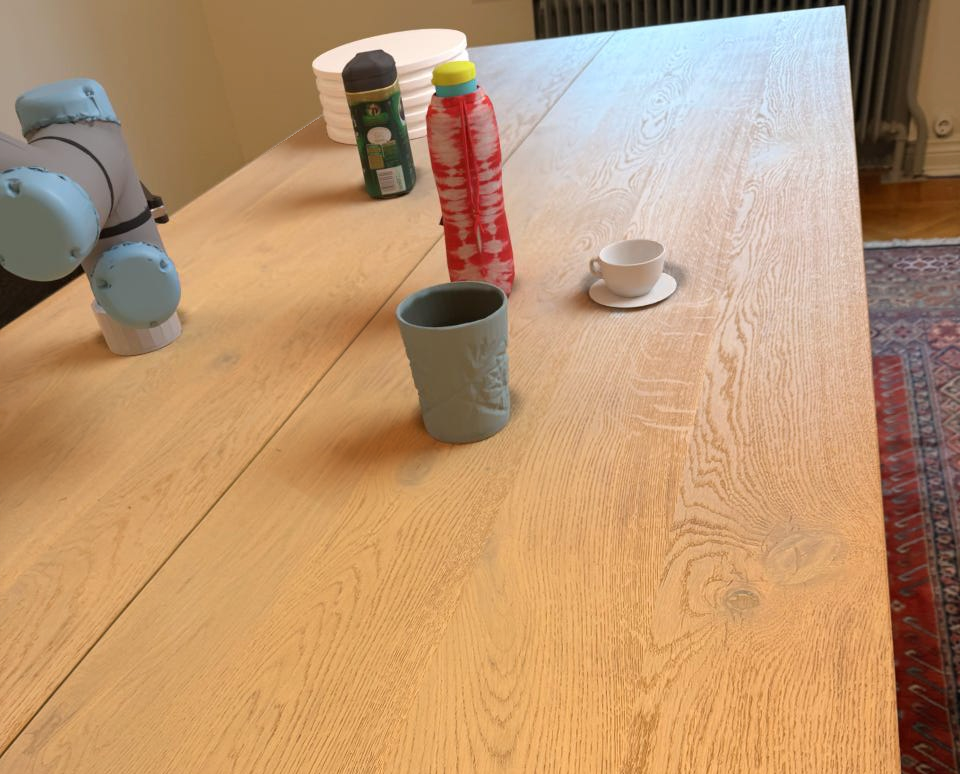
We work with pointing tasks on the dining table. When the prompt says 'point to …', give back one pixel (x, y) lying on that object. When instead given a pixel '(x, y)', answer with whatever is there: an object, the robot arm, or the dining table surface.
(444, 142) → the water bottle
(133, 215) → the robot arm
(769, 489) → the dining table surface
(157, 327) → the grey faceted cup
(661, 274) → the teacup
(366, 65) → the coffee jar
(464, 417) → the grey embossed cup
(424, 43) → the plate stack
